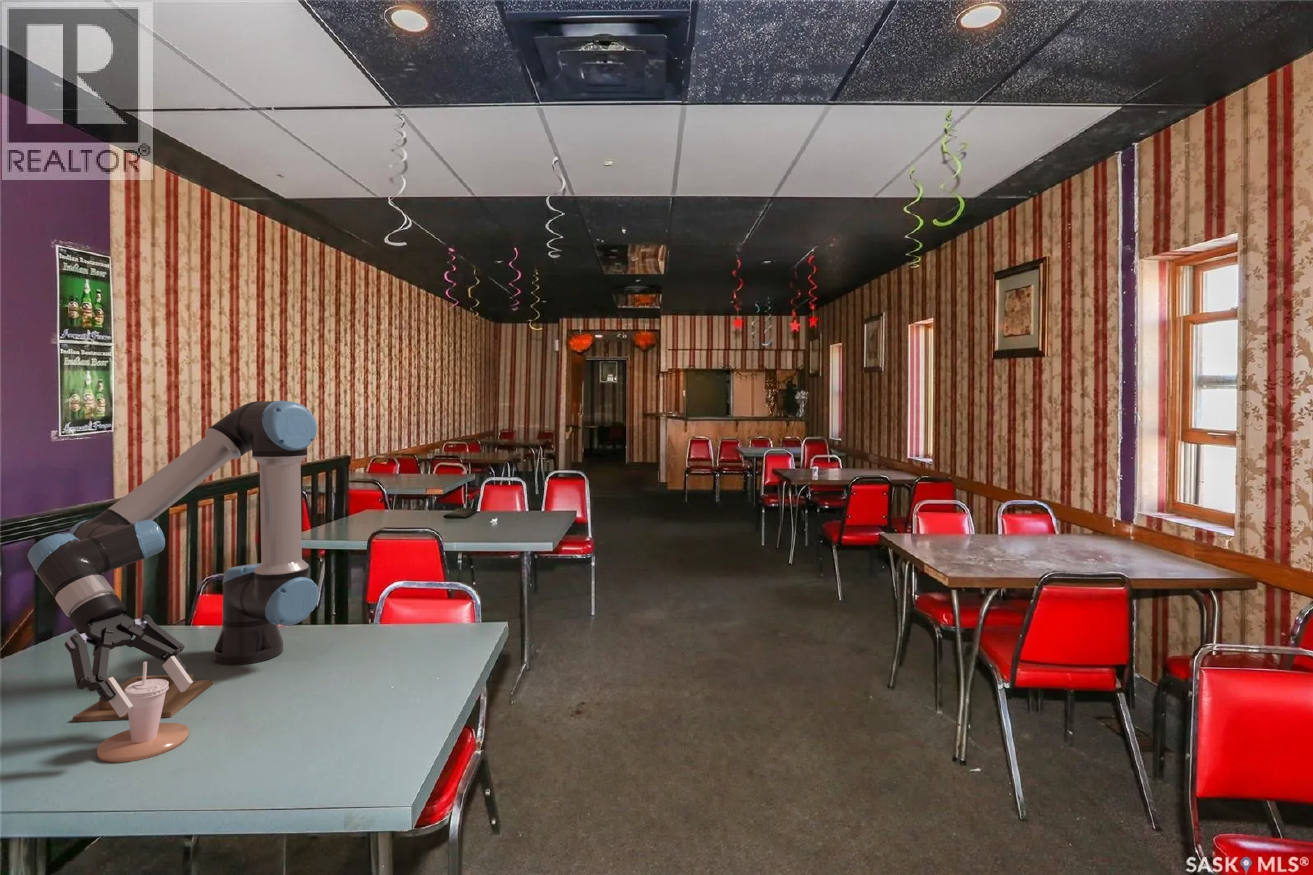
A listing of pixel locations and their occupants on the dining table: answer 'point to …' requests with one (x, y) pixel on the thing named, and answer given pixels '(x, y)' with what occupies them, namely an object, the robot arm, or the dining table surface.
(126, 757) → the coaster
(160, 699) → the smoothie
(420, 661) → the dining table surface
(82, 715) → the cup holder
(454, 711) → the dining table surface
